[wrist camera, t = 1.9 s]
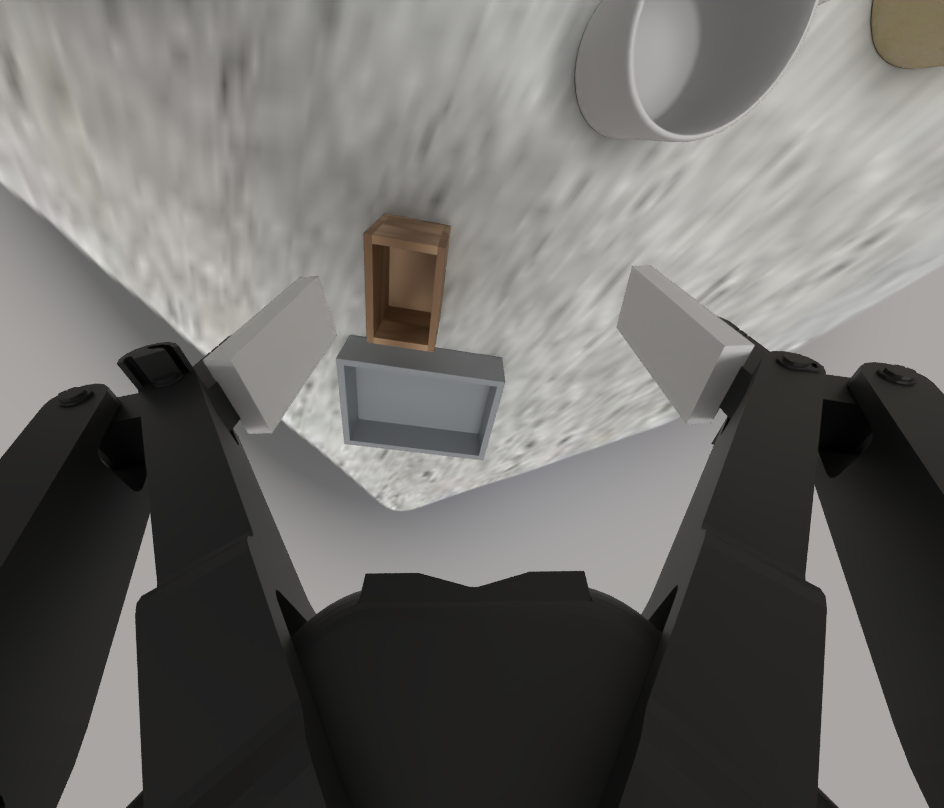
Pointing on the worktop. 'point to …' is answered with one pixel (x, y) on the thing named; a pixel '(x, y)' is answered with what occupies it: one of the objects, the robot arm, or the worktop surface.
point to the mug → (684, 63)
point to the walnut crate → (404, 281)
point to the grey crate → (418, 398)
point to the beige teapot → (909, 32)
